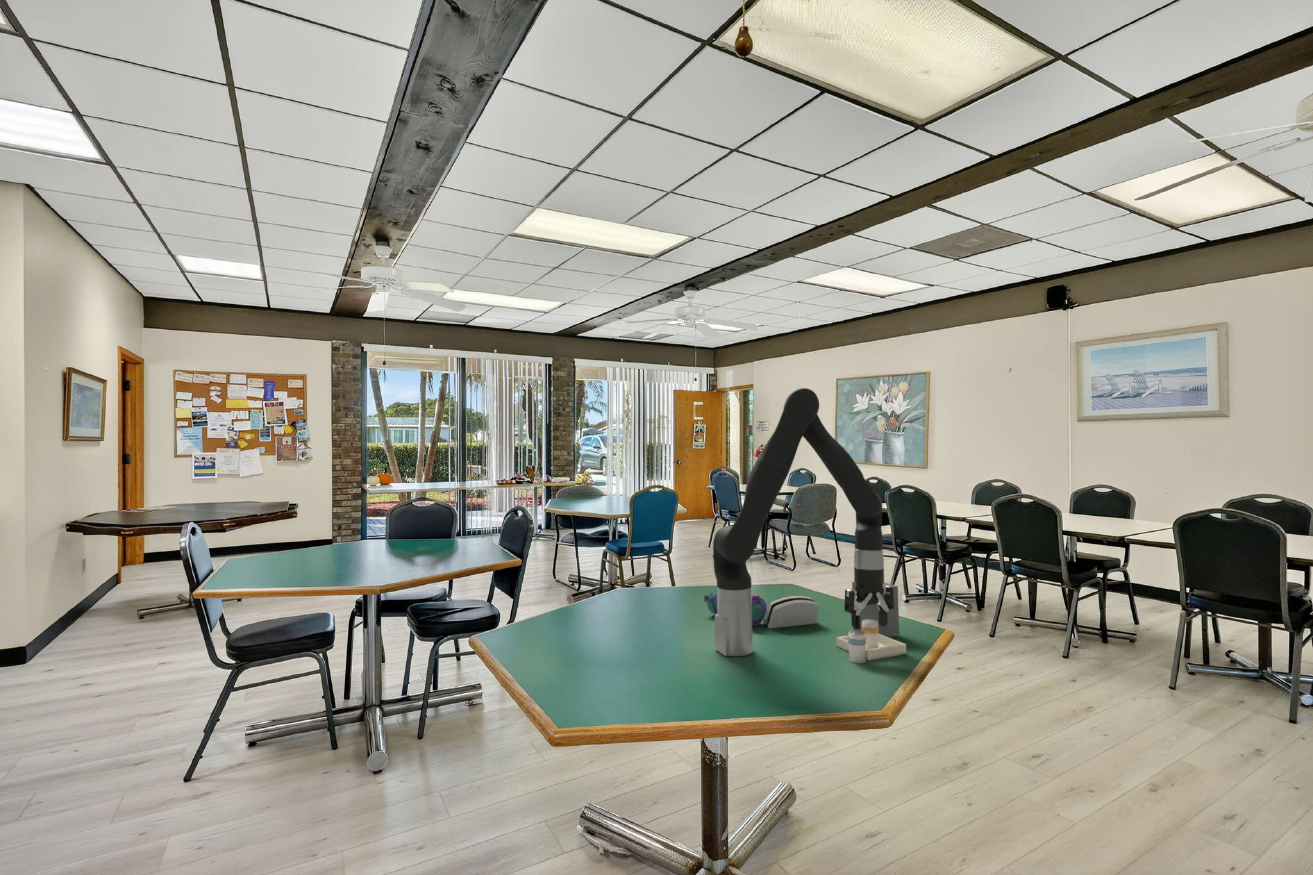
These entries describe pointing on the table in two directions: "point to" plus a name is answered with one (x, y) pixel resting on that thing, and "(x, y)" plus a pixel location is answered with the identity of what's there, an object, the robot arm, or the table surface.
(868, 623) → the white orange rounded cylinder
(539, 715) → the table surface
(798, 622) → the white slotted rounded block
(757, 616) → the pencil case
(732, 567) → the robot arm
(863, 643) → the blue-band fuse
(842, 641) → the parts tray
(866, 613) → the control box
